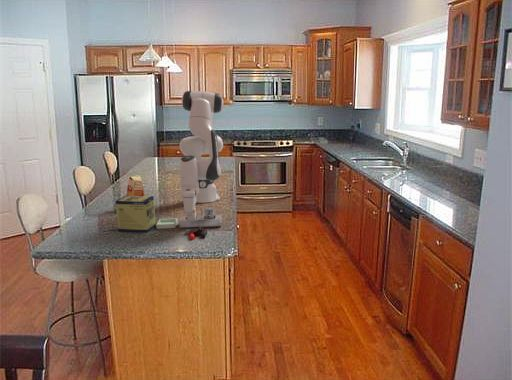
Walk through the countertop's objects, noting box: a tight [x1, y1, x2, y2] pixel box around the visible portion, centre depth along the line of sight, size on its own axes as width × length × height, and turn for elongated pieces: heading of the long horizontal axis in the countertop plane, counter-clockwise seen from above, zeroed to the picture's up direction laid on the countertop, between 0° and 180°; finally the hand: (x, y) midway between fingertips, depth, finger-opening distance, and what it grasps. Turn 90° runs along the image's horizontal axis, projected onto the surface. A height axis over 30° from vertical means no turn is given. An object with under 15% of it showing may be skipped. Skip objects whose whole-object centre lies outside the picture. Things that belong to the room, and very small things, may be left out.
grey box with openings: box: [178, 206, 222, 229], centre depth 214 cm, size 14×20×8 cm
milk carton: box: [126, 174, 146, 196], centre depth 251 cm, size 9×9×20 cm
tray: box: [155, 217, 179, 230], centre depth 219 cm, size 10×9×2 cm
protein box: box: [115, 195, 157, 234], centre depth 213 cm, size 10×16×16 cm
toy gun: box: [184, 224, 208, 241], centre depth 201 cm, size 10×12×5 cm
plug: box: [186, 207, 197, 220], centre depth 217 cm, size 4×4×8 cm
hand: (191, 216), depth 217 cm, fingers open, 8 cm apart
